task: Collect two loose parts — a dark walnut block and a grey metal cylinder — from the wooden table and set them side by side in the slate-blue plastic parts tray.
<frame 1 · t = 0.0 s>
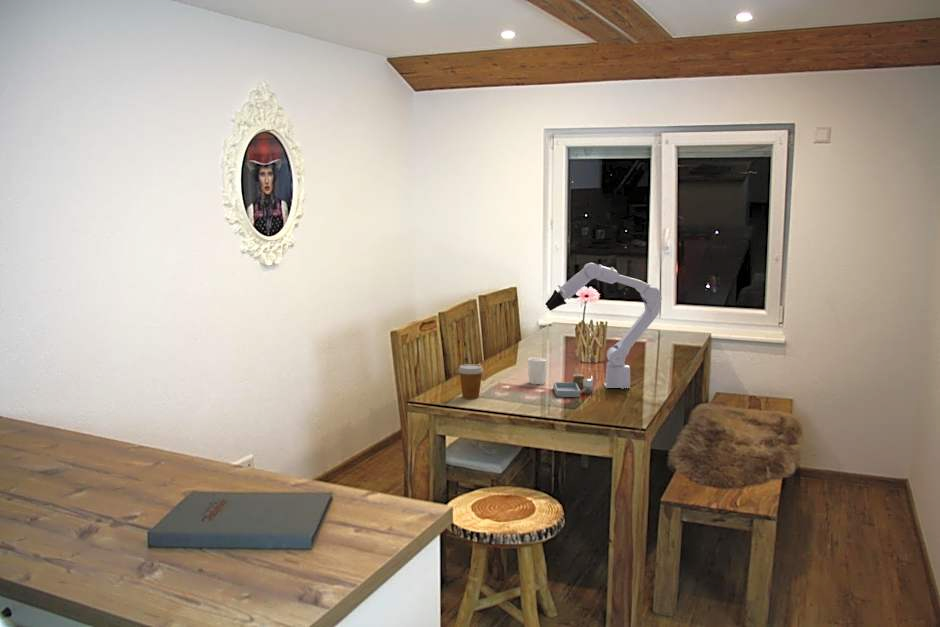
hand: (547, 307, 317), 32 cm above the table, tool tilted 50°, fingers open, 7 cm apart
disposable coffee cup: (470, 397, 304), on the table
walnut block: (578, 387, 320), on the table
metal cylinder: (588, 392, 312), on the table
parts tray: (566, 392, 311), on the table
white cup: (537, 383, 327), on the table
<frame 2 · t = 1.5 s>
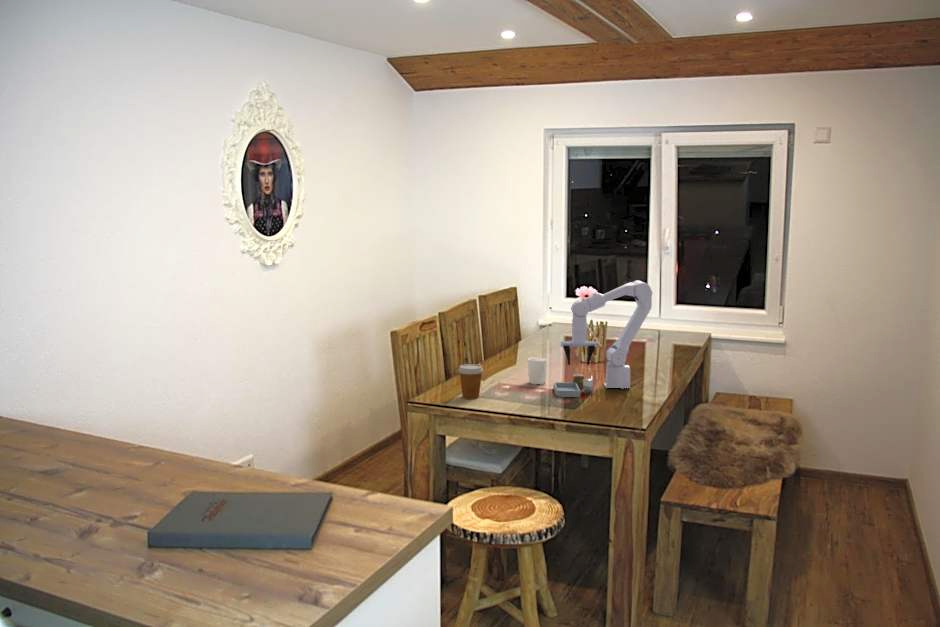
hand: (578, 364, 319), 9 cm above the table, tool pointing down, fingers open, 7 cm apart
nothing on the table moved.
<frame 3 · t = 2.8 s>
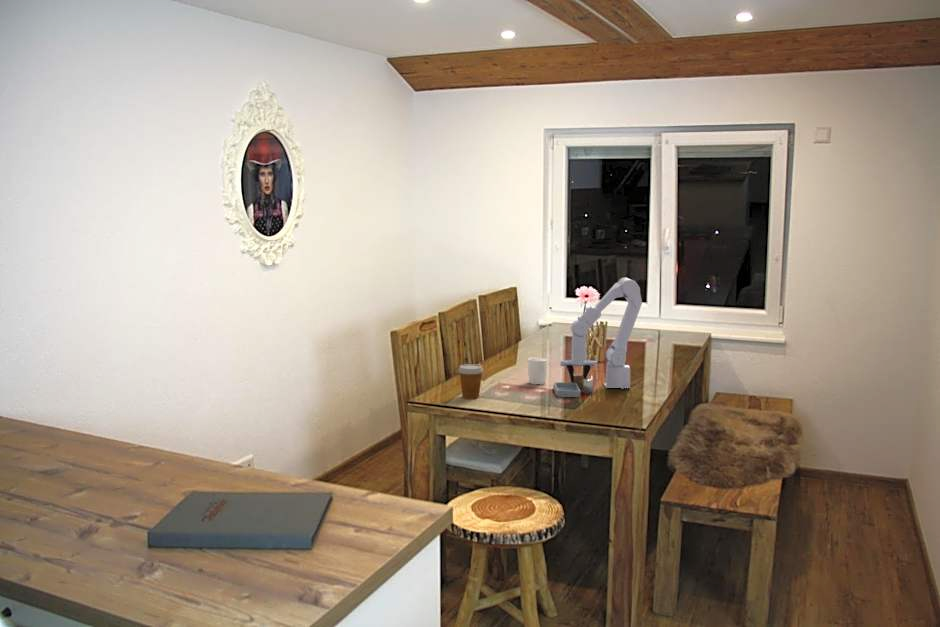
hand: (578, 383, 320), 1 cm above the table, tool pointing down, fingers closed on walnut block, 4 cm apart
walnut block: (578, 387, 320), on the table, touching gripper
everything else where it was.
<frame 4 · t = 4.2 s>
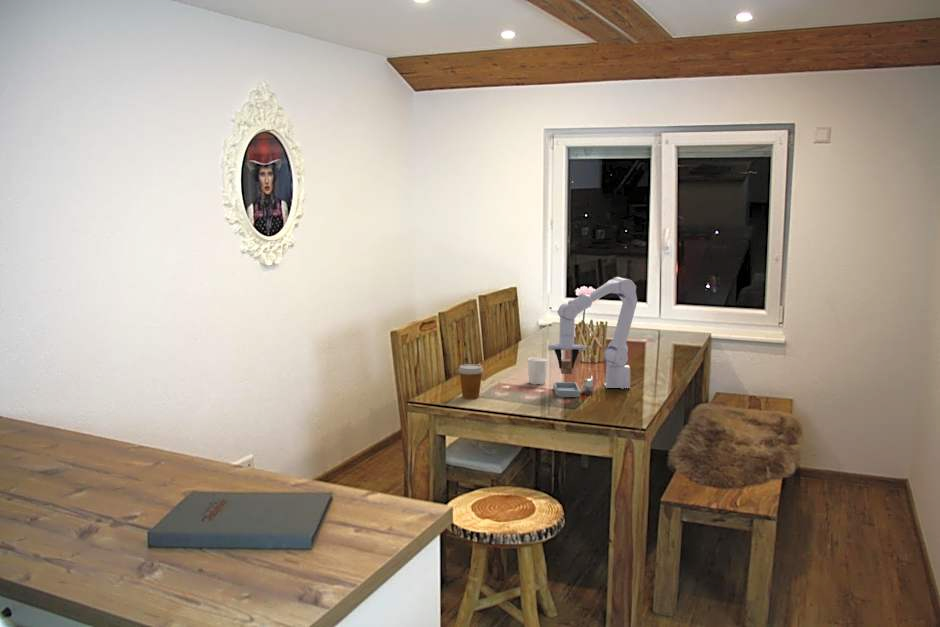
hand: (566, 368, 313), 9 cm above the table, tool pointing down, fingers closed on walnut block, 4 cm apart
walnut block: (566, 372, 314), point 7 cm above the table, touching gripper
everything else where it was.
when the fingers open (4 cm above the table, at t = 5.6 s): walnut block drops 1 cm, resting on parts tray.
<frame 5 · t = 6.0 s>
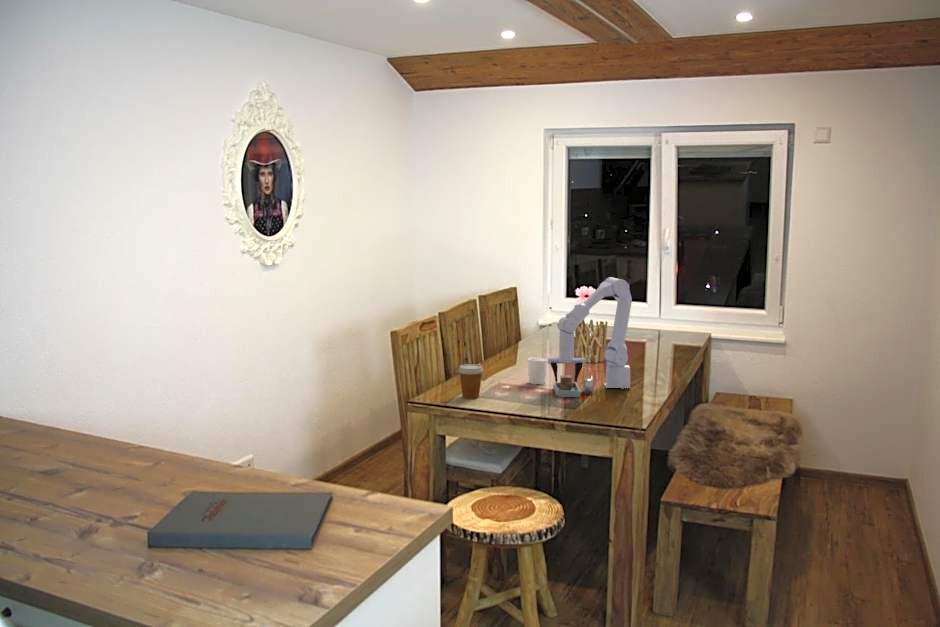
hand: (565, 381, 314), 4 cm above the table, tool pointing down, fingers open, 7 cm apart
walnut block: (565, 388, 315), point 1 cm above the table, touching parts tray
everything else where it was.
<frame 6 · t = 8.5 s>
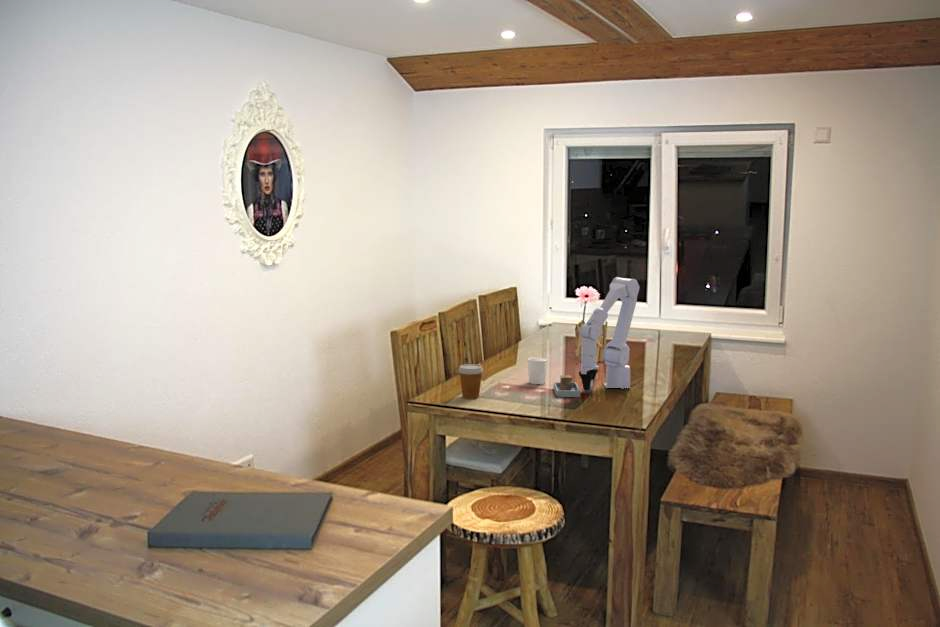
hand: (588, 388, 312), 1 cm above the table, tool pointing down, fingers closed on metal cylinder, 4 cm apart
metal cylinder: (588, 392, 312), on the table, touching gripper
everything else where it was.
when the fingers open (4 cm above the table, at t = 11.3 s): metal cylinder stays where it is, resting on parts tray.
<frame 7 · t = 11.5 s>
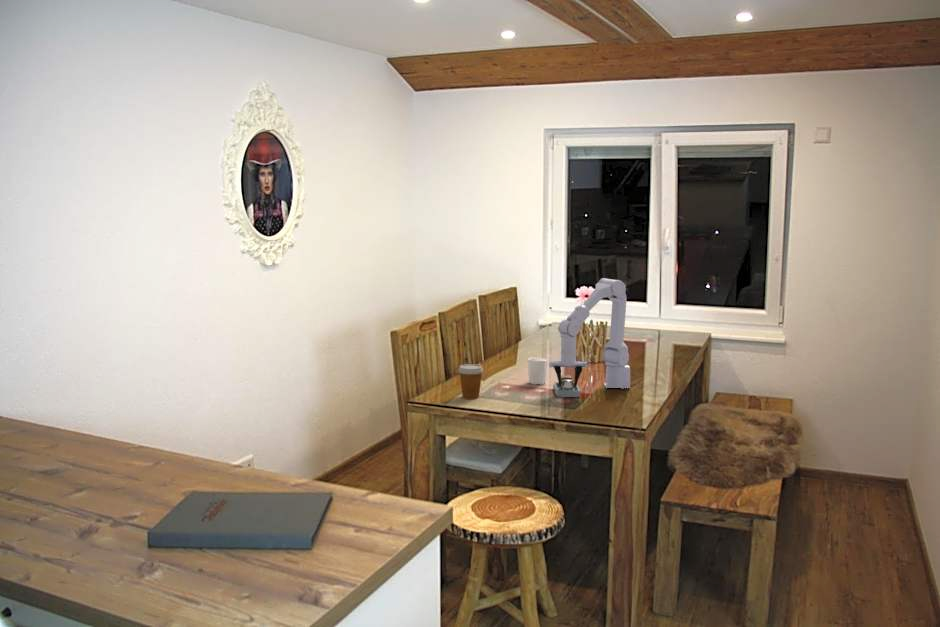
hand: (567, 385, 308), 4 cm above the table, tool pointing down, fingers open, 5 cm apart
metal cylinder: (567, 393, 308), point 1 cm above the table, touching parts tray
everything else where it was.
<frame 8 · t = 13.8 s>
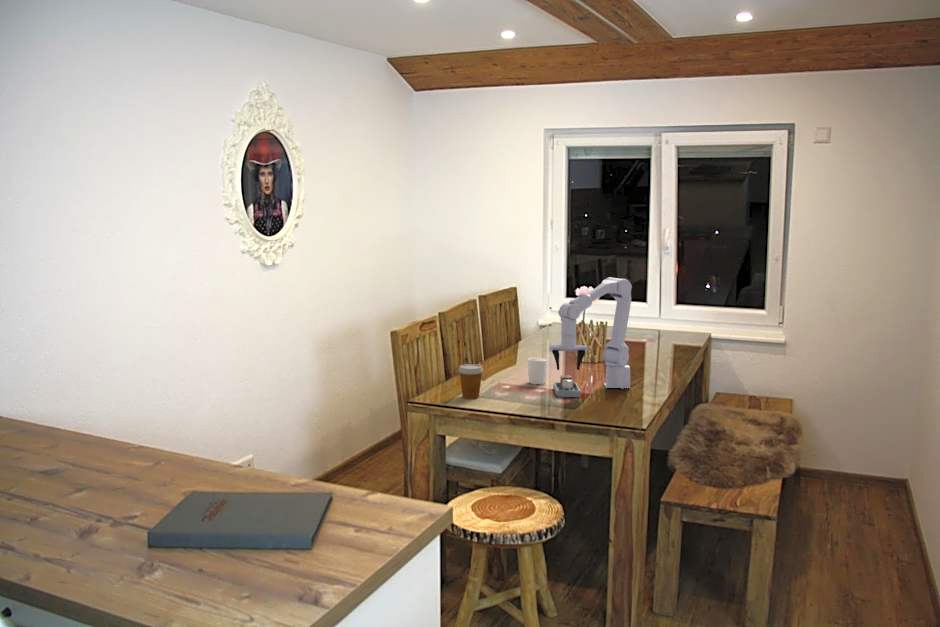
hand: (568, 369, 307), 10 cm above the table, tool pointing down, fingers open, 7 cm apart
nothing on the table moved.
at the end: walnut block inside the target area on the parts tray (3.5 cm from its centre), point 0.6 cm above the parts tray's base; metal cylinder inside the target area on the parts tray (3.2 cm from its centre), point 0.6 cm above the parts tray's base; the gripper is holding nothing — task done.
